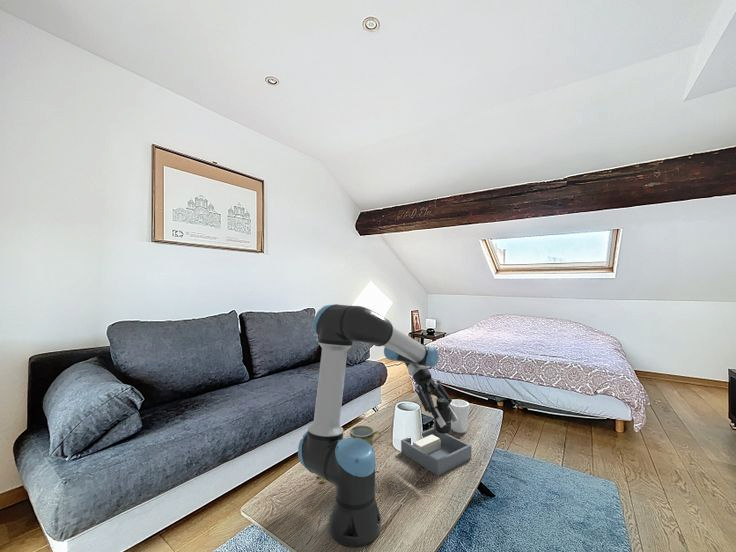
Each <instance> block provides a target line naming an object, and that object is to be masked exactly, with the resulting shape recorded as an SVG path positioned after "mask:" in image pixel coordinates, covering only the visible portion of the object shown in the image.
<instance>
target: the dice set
mask: <svg viewBox="0 0 736 552" xmlns="http://www.w3.org/2000/svg"><path fill="white" fill-rule="evenodd" d="M317 476H318V475H317ZM318 478H319V479H321V483H326V482H327V480H325V479H324V478H322V477H320V476H318Z"/></svg>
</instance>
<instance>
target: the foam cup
mask: <svg viewBox="0 0 736 552" xmlns="http://www.w3.org/2000/svg"><path fill="white" fill-rule="evenodd" d="M450 405H451V407H452V408H453V410H454V413H455V414H456V416H457V418H458V420H457V421H456V422H454V423H453V421H452V420H451V429H452V431H453V432H455V433H458V434H463V433H466V432H467V425H468V419H469V418H468V417H469V410H470V403H469V402H468V401H466V400H463V399H452V401H451V403H450Z"/></svg>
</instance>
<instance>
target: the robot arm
mask: <svg viewBox="0 0 736 552" xmlns="http://www.w3.org/2000/svg"><path fill="white" fill-rule="evenodd" d="M312 324H313V325H312V326H313V331H314V333H315V334H316V335H317V336H318V342H317V343H318V345H319V346H320V347H321V355H320V363H319V373H318V380H317V388H316V389H317V391H316V398H315V408H314V415H313V422H312V423H311V424H310V425H309V426H308V428H307V430H306V432H304V434H302V438H301V439H300V440H299V442H298V448H297V455H298V456H297V457H298V460H299V463H300V464H301V465H302V467H303V468H305V469H307V470H308V472H310V473H311V474H315V475H317V476H320V477H322V478H324V479H325V480H326V482H329V483H331V484H333V485H334V486H335V501H334V504H333V508H332V511H331V513H330V516H329V517H330V518H329V533H330V535H331V537H332V538H333V539H334V540H335V541H336V542H337V543H338V544H340V545H342V546H345V547H352V548H356V547H357V548H359V547H363V546H366V545H368V544H370V543H372V542H373V541H375V540H376V539H377V538H378V536H379V535H380V532H381V530H382V516H381V513H380V509H379V507H378V503H377V500H376V457H375V451H374V448H373V445H372V446H371V445H370V444H369V443H368V442H367V441H365V440H363V439H360V438H353V437H351V436H349V437H348V436H347V437H345V438H344V428H343V427H342V426H341V417H342V415H341V413H342V406H343V405H342V403H343V395H344V394H343V393H344V387H345V386H344V385H345V377H346V376H345V375H346V366H347V357H348V351H349V350H350V349H351V348H352V347H353V344H354V342H355V343H361V344H362V343H363V344H370V345H373V346H375V347H383V348H384V349H383V355H384V357H385V358H386V359H387V360H389V361H396V362H402V363H404V364H405V366H406V368H407V369H408V372H409V373H410V375H411V376H412V379H413V380H414V383H415V384H416V385H417V386H415V388H414V389H413V390H414V392H415V393H416V394H417V396H418V398H419V400H420V402H421V404H422V407H423V409H424V411H425V412H428V414H429V413H430V414H431V415H432V417H433V419H434V418H435V419H436V420H437V422H438V424H439V425H440V427H441V428H442V427H443V426H444V425H446V423H445V422H444V420H443V418H442V416H441V415H440V413H439V411H438V410H437V408H436V409H435V403H434V400H433V397H432V395H434V396H435V397H436V398H437V399H439V398H444V399H447V400H448V401H449V407H450V408H451V420H452V421H453V423H454V422H456V421H457V420H458V418H457V416H456V414H455V413H454V410H453V408H452V407H451V405H450V403H451V401H452V400H453V399H452V398H451V397H450V396H449V394H448V392H447V391H446V390H445V388H444V387H443V385H442V384H441V381H440V380H437V381H434V380H435V379H433V378H432V373H431V372H430V371H429V369H428V367H430V368H435V367H436V366H437V364H438V363H439V355H440V354H439V351H438V349H437V348H434V347H432V346H425V345H423V344H422V343H420V342H419V341H418V340H416V339H414V338H413V337H410V336H409V335H408V334H406V333H404V332H403V331H401V330H399V329H398V328H396V327H395V326H394V325H393V323H392V322H391V321H390V320H389V319H387V318H386V317H384V316H383V315H381V314H379V313H377V312H375V311H374V310H372V309H370V308H367V307H364V306H361V305H346V304H327V305H324V306H322V307H321V308H320V309H318V310H317V312H316V314H315V316H314V319H313V323H312ZM322 478H321V479H322Z"/></svg>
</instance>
